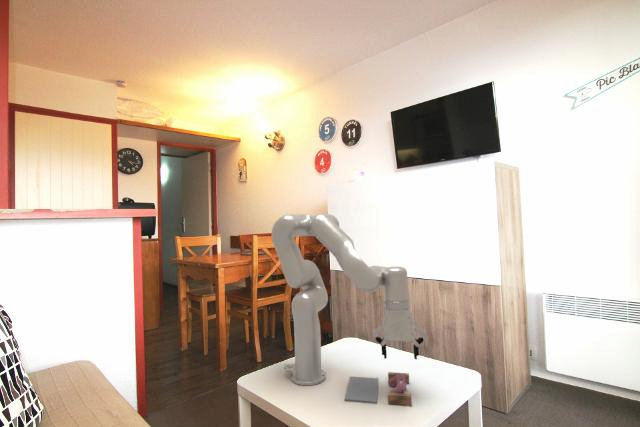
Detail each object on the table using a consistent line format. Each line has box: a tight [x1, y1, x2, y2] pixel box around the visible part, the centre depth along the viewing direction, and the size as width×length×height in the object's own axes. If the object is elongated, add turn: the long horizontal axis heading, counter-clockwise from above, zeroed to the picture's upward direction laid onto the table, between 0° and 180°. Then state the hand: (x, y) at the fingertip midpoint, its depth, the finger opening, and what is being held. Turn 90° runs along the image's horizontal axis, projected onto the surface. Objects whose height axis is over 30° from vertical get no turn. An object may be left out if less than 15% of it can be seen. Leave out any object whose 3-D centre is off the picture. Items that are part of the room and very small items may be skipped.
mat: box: [343, 376, 379, 405], centre depth 114 cm, size 10×16×1 cm, turn 168°
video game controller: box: [387, 372, 408, 394], centre depth 112 cm, size 10×5×7 cm, turn 169°
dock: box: [387, 371, 413, 408], centre depth 112 cm, size 7×16×3 cm, turn 168°
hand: (400, 357), depth 112 cm, fingers open, 9 cm apart
